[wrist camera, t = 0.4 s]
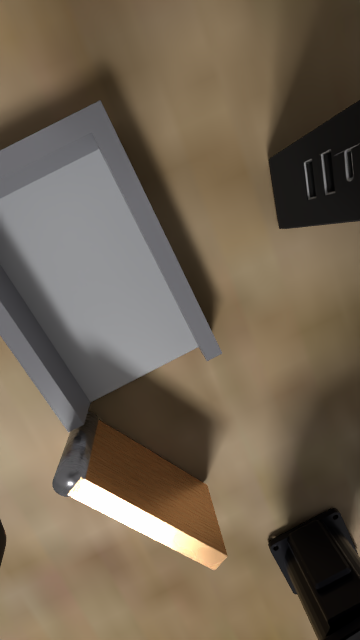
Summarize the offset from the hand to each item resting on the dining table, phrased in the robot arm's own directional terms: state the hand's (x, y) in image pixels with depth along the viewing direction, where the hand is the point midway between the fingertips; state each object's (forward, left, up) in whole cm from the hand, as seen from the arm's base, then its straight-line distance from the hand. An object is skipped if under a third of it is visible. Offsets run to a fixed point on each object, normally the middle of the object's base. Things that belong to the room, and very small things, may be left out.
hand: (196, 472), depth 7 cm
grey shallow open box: (+4, +2, -14) cm, 14 cm away
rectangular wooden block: (-8, +5, -13) cm, 16 cm away
